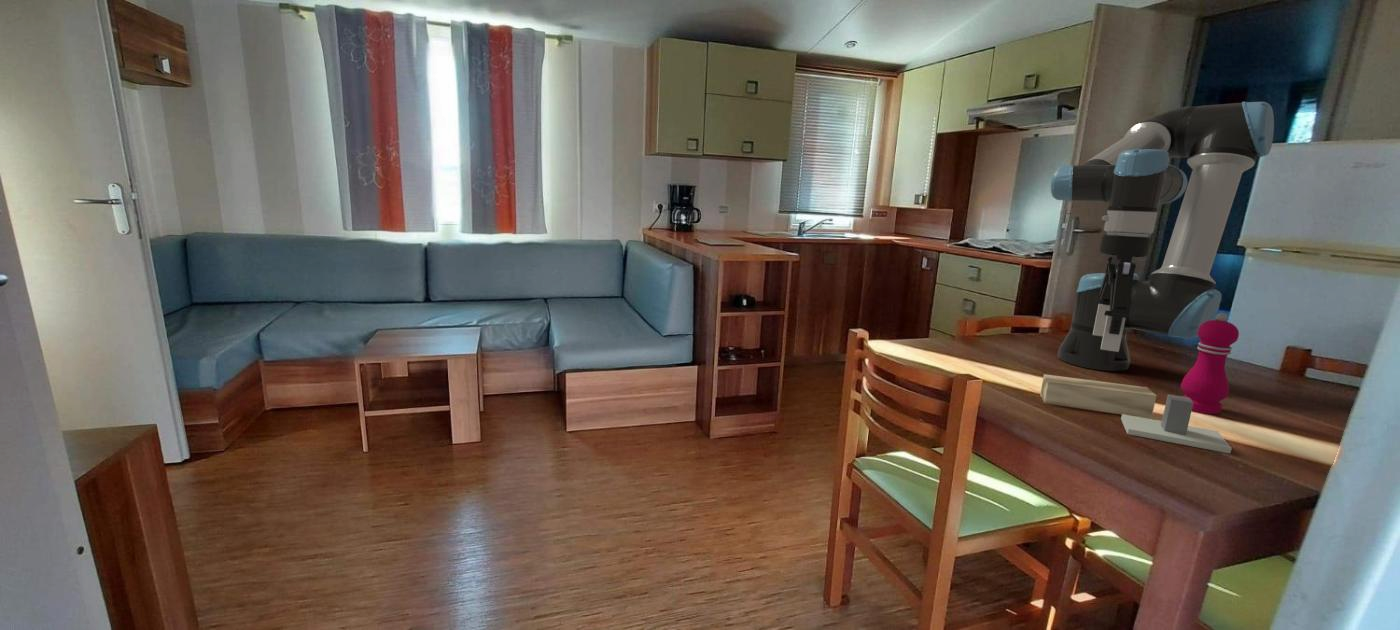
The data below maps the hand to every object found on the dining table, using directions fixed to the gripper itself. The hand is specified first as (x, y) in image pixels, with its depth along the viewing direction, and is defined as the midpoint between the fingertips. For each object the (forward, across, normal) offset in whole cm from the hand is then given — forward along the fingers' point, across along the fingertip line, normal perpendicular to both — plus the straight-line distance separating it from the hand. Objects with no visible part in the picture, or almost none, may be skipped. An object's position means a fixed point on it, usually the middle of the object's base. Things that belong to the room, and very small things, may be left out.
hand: (1104, 342), depth 110 cm
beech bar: (+14, -1, 0) cm, 14 cm away
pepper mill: (+13, -12, +19) cm, 26 cm away
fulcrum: (+14, +8, +11) cm, 20 cm away
